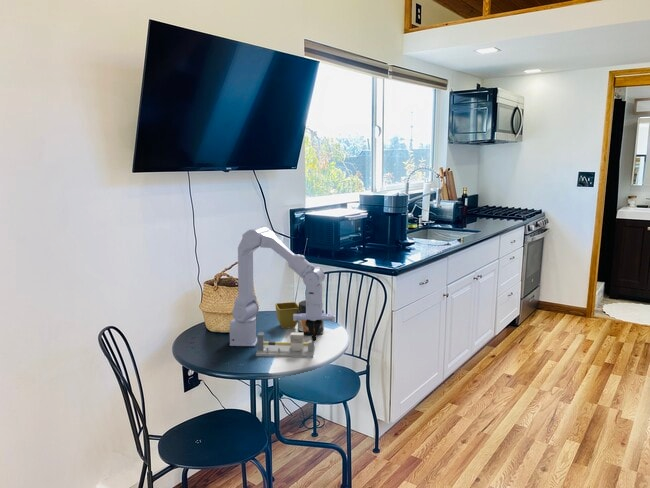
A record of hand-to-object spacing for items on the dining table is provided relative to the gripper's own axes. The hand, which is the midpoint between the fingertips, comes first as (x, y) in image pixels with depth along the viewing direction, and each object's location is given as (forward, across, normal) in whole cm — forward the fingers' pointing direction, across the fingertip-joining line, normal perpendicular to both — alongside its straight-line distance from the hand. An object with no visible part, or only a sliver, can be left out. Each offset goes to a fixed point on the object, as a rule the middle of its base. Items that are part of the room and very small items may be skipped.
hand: (314, 340), depth 174 cm
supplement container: (+5, -3, +21) cm, 22 cm away
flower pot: (+5, -13, +27) cm, 30 cm away
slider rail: (+5, -10, 0) cm, 11 cm away
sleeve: (+3, -6, 0) cm, 7 cm away
